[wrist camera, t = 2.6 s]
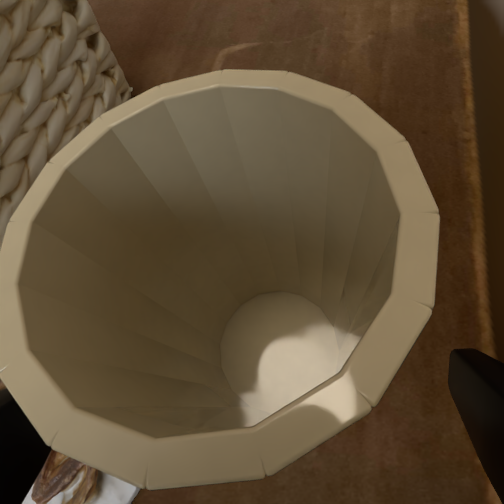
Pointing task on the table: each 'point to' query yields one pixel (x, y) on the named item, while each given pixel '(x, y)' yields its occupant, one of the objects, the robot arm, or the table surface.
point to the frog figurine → (76, 483)
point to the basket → (49, 87)
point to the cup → (216, 278)
